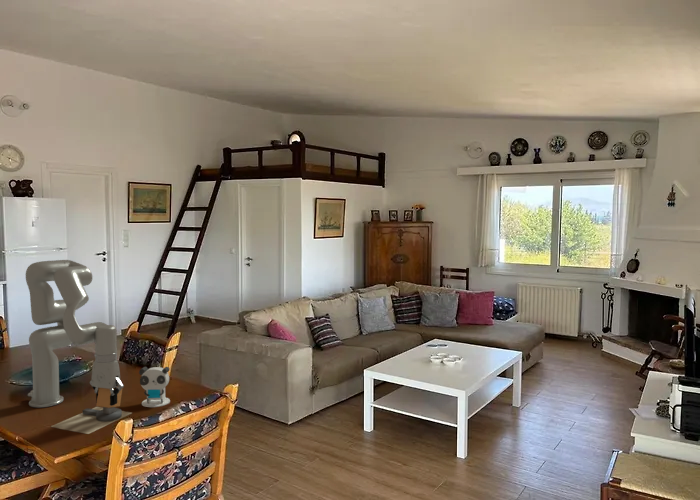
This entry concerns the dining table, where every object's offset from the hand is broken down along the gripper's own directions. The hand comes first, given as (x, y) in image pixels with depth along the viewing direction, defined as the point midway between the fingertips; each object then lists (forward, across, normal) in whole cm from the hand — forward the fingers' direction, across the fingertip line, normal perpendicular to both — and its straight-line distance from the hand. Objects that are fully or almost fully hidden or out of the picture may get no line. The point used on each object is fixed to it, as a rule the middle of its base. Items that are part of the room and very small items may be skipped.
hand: (106, 402), depth 205 cm
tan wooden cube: (+1, 0, +1) cm, 2 cm away
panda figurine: (+7, +5, +22) cm, 24 cm away
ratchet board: (+7, -3, -4) cm, 9 cm away
